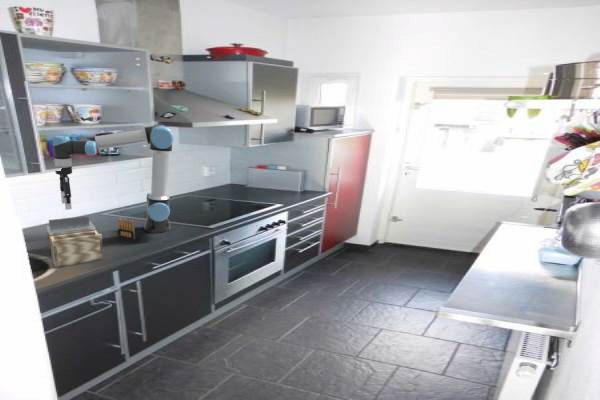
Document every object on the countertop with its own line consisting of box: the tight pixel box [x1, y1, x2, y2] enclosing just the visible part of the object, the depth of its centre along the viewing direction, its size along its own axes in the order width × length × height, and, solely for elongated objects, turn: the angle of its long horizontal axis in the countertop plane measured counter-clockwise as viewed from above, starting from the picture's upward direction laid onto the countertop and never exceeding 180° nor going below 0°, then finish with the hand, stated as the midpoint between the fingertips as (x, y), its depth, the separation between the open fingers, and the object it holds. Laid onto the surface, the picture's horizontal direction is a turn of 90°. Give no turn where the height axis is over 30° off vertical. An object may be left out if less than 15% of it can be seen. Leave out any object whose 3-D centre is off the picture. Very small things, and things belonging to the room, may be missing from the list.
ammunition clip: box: [117, 217, 137, 241], centre depth 226 cm, size 11×2×12 cm, turn 74°
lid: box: [46, 215, 97, 236], centre depth 204 cm, size 20×12×4 cm, turn 127°
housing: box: [46, 229, 104, 269], centre depth 200 cm, size 20×28×13 cm
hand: (66, 206), depth 211 cm, fingers open, 12 cm apart
